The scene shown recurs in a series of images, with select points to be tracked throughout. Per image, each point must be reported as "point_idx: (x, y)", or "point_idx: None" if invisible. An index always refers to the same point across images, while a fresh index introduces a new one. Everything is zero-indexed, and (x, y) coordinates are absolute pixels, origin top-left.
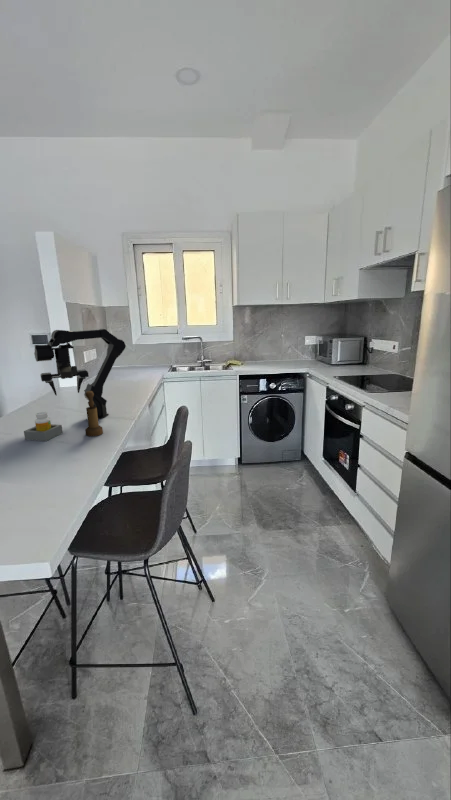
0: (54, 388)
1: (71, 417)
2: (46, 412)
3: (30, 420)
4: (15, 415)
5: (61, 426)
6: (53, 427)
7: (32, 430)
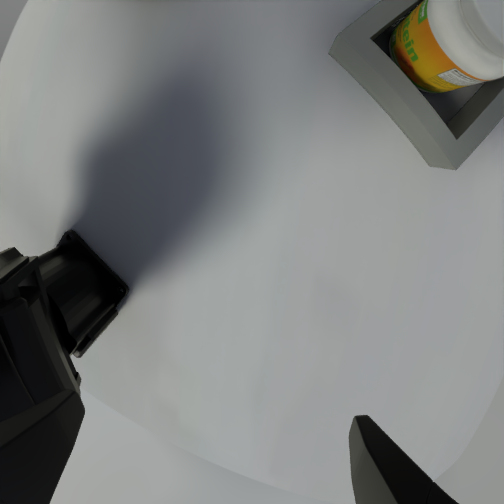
0: (404, 493)
1: (231, 363)
2: (479, 10)
3: (420, 408)
4: None
5: (338, 36)
6: (392, 16)
7: (495, 91)
